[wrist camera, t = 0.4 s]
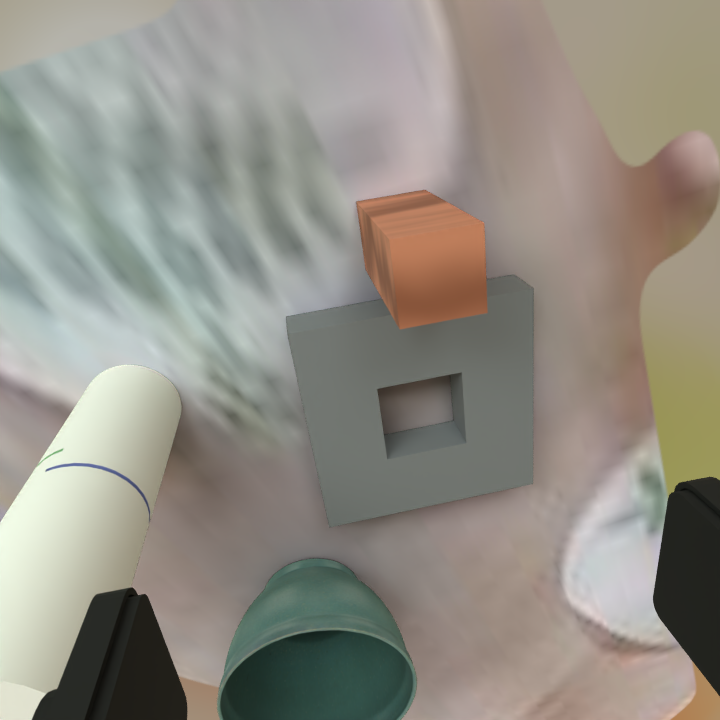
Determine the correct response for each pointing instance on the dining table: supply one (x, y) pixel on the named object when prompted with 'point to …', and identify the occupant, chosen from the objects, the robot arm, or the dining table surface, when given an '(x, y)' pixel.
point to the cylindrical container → (79, 526)
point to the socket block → (409, 364)
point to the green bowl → (317, 652)
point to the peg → (424, 257)
